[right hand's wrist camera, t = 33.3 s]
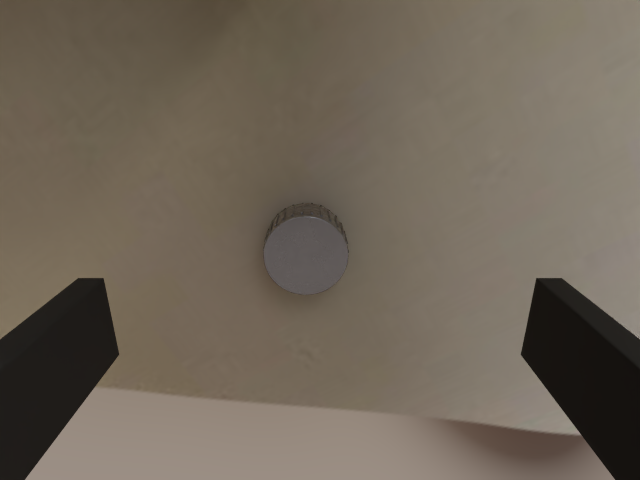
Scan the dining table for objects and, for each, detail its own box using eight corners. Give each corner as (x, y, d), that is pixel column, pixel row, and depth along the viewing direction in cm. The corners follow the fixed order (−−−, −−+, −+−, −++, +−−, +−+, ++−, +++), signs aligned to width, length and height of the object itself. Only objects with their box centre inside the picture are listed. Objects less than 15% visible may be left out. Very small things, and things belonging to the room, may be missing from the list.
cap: (274, 280, 21) (270, 301, 19) (260, 208, 19) (254, 221, 17) (349, 270, 21) (353, 290, 19) (340, 196, 19) (344, 209, 17)
